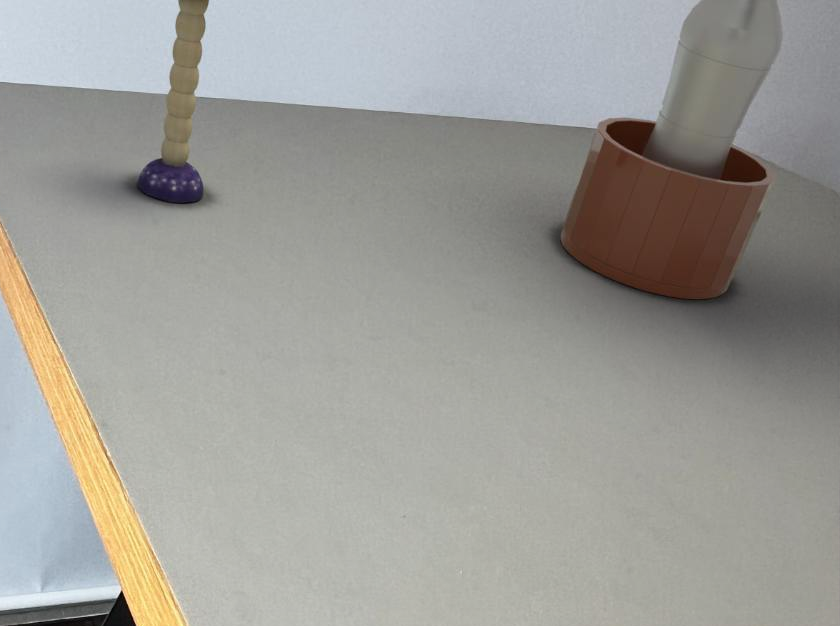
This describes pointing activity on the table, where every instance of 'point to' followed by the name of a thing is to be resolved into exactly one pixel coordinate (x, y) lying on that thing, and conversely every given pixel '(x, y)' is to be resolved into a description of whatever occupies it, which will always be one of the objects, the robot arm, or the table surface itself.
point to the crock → (662, 215)
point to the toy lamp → (179, 113)
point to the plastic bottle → (714, 82)
